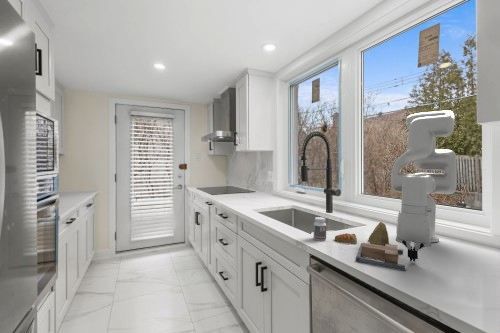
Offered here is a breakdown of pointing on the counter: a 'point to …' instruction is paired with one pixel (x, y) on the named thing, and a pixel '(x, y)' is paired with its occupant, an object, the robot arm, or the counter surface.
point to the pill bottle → (320, 229)
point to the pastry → (346, 238)
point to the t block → (380, 252)
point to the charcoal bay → (380, 263)
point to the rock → (379, 235)
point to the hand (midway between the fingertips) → (412, 260)
